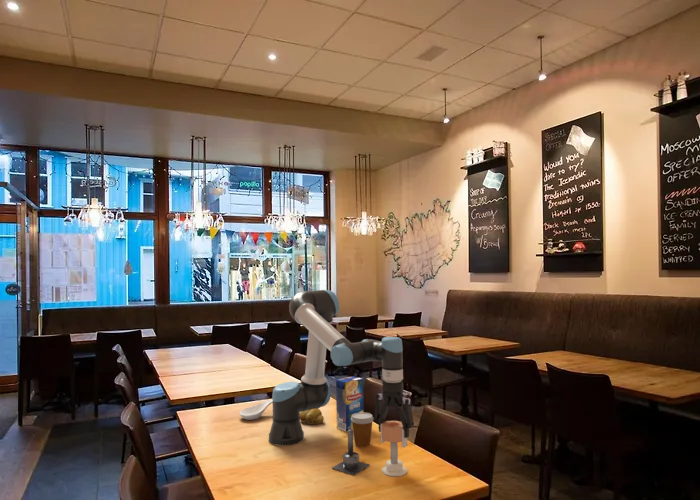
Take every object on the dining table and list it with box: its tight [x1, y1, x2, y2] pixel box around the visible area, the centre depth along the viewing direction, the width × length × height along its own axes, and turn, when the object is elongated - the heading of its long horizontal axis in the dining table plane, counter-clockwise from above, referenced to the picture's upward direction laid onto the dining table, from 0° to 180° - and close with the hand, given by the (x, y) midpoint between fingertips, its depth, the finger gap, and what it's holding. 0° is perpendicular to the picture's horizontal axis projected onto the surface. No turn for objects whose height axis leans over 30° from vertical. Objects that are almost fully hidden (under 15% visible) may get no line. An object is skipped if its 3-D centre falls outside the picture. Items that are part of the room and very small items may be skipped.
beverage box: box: [335, 375, 365, 433], centre depth 217 cm, size 7×11×22 cm, turn 133°
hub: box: [381, 442, 408, 478], centre depth 169 cm, size 9×9×10 cm
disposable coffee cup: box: [351, 412, 374, 448], centre depth 195 cm, size 10×10×12 cm
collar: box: [382, 420, 403, 443], centre depth 169 cm, size 8×8×5 cm
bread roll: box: [300, 408, 325, 425], centre depth 225 cm, size 13×10×8 cm
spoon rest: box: [239, 398, 273, 421], centre depth 236 cm, size 24×12×7 cm, turn 127°
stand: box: [331, 429, 371, 476], centre depth 173 cm, size 10×10×14 cm
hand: (393, 443), depth 169 cm, fingers closed on collar, 8 cm apart
